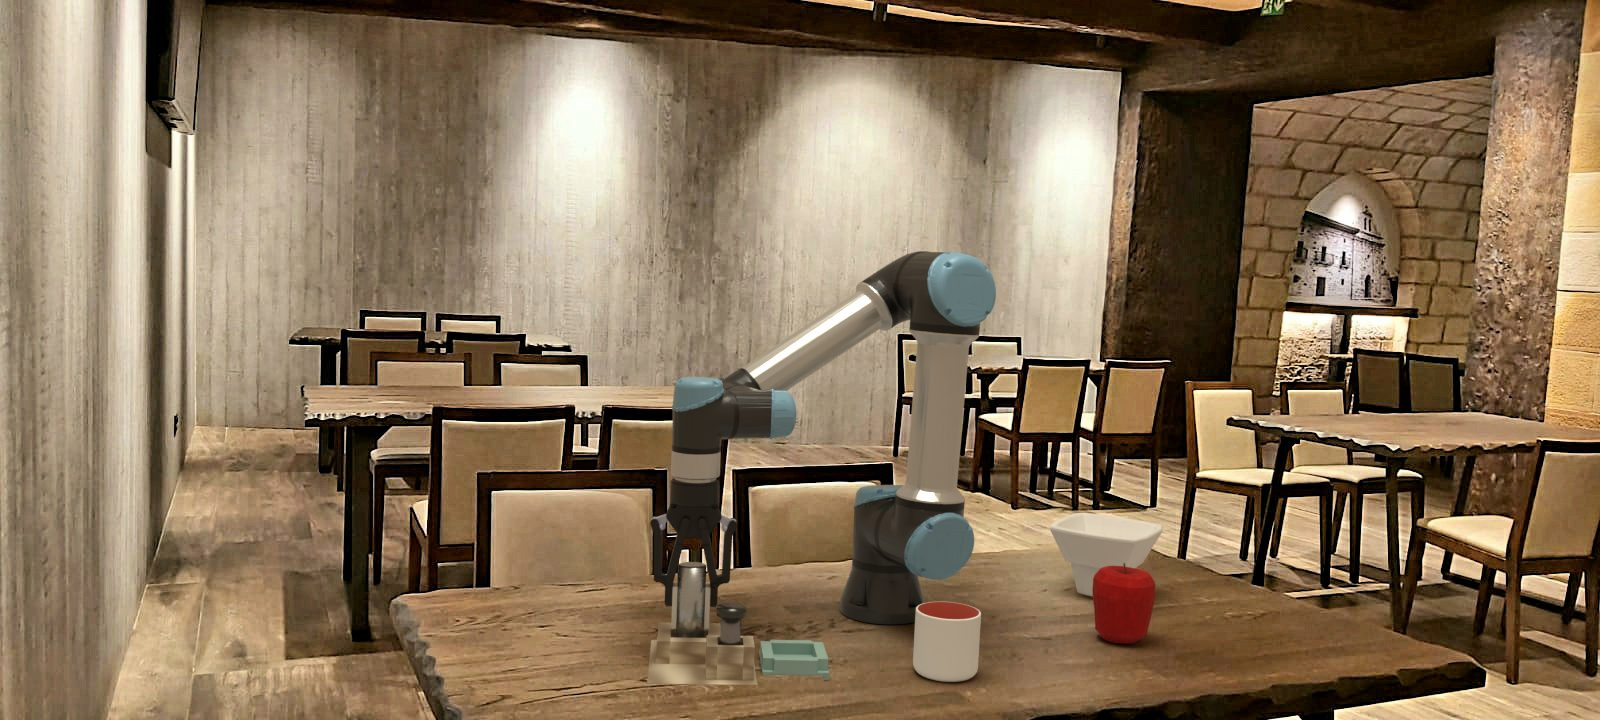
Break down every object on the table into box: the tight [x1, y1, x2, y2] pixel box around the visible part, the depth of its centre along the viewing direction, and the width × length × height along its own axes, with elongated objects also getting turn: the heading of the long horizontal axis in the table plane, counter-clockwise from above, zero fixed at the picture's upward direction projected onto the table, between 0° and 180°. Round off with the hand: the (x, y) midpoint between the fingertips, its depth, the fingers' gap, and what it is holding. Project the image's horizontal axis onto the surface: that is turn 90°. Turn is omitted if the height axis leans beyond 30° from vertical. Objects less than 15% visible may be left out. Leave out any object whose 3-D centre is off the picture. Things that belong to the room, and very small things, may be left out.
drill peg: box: [676, 561, 707, 638], centre depth 199 cm, size 4×4×14 cm
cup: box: [912, 601, 982, 683], centre depth 198 cm, size 10×10×10 cm
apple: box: [1092, 563, 1156, 644], centre depth 218 cm, size 10×10×14 cm
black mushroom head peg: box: [716, 602, 747, 645], centre depth 190 cm, size 4×4×9 cm
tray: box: [758, 639, 830, 681], centre depth 197 cm, size 10×10×3 cm
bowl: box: [1049, 512, 1164, 597], centre depth 247 cm, size 19×19×14 cm
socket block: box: [646, 621, 758, 686], centre depth 196 cm, size 16×20×6 cm
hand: (690, 626), depth 199 cm, fingers closed on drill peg, 4 cm apart
